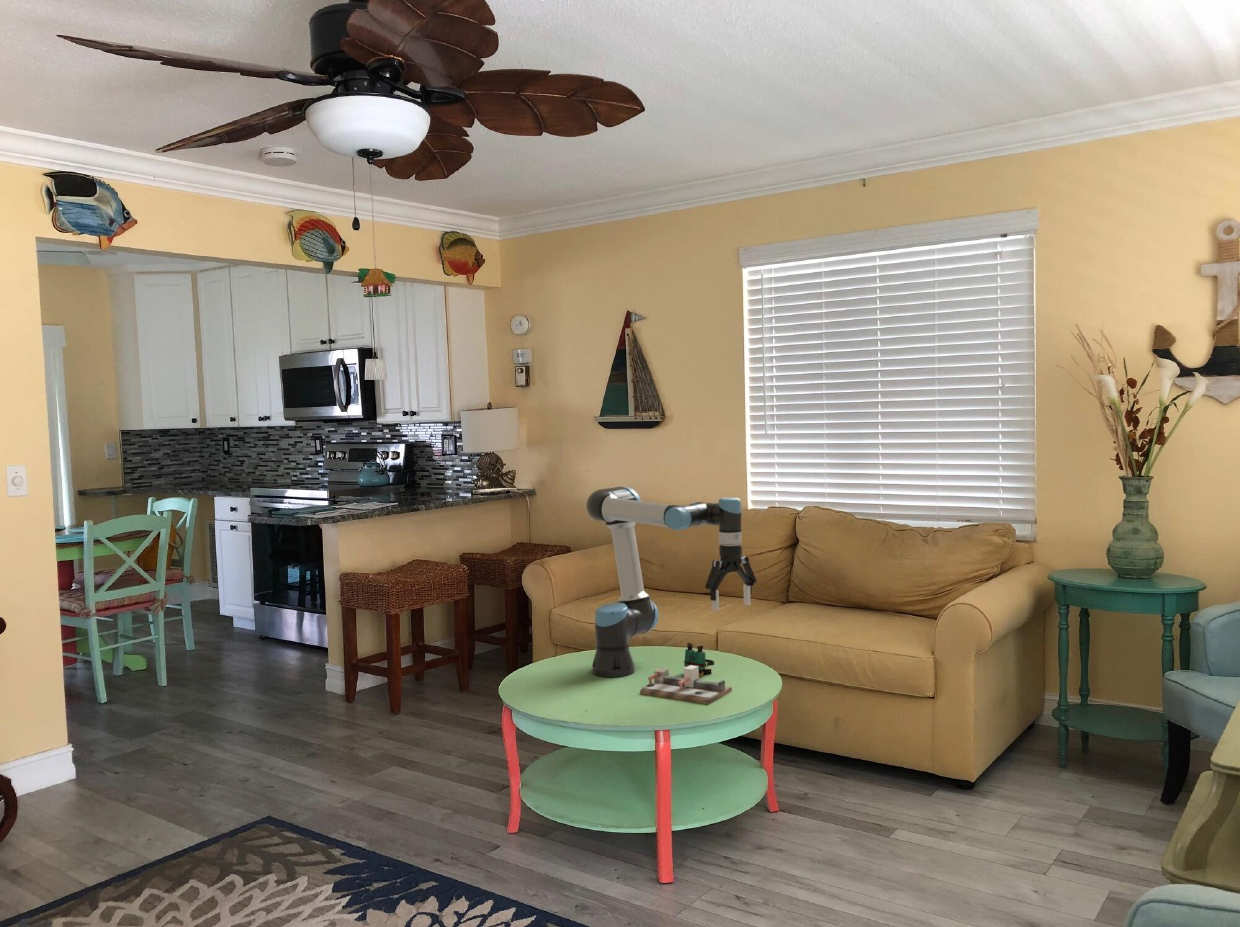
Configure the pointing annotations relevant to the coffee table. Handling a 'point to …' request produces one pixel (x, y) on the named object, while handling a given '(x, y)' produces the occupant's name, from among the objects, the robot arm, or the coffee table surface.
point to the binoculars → (697, 659)
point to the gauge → (684, 688)
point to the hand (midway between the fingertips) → (731, 607)
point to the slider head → (690, 676)
